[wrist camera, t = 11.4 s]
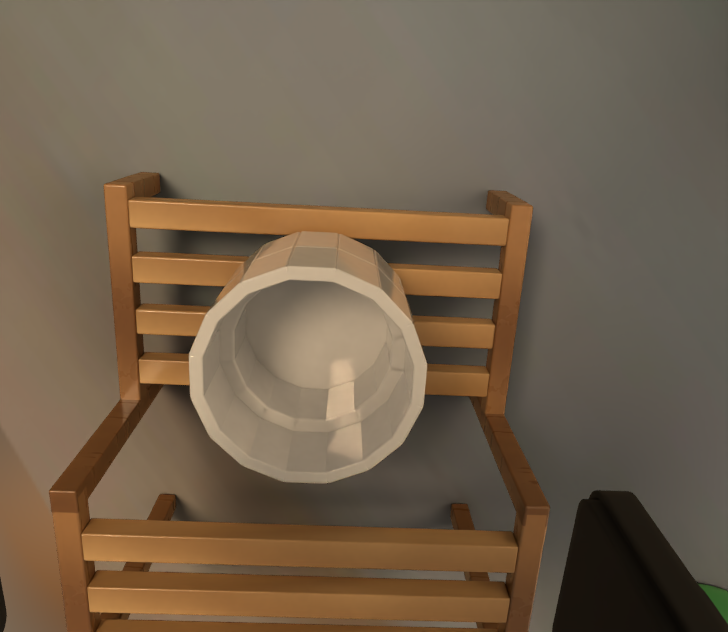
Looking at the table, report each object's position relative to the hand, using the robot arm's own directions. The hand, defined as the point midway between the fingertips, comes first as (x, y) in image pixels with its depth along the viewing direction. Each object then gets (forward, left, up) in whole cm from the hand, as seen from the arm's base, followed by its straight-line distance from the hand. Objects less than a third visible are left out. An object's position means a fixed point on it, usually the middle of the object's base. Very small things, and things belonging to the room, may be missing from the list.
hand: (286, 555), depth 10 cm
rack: (+4, 0, -18) cm, 18 cm away
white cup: (+1, 0, -14) cm, 14 cm away
